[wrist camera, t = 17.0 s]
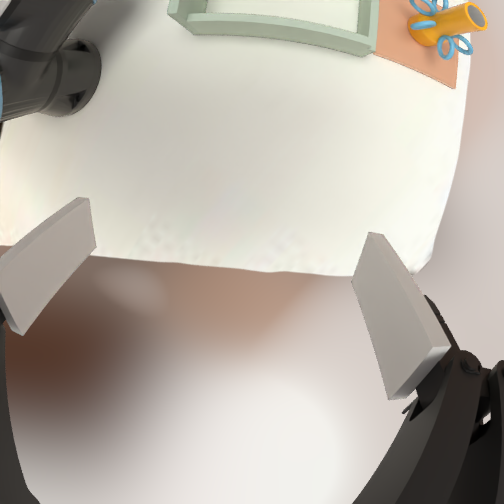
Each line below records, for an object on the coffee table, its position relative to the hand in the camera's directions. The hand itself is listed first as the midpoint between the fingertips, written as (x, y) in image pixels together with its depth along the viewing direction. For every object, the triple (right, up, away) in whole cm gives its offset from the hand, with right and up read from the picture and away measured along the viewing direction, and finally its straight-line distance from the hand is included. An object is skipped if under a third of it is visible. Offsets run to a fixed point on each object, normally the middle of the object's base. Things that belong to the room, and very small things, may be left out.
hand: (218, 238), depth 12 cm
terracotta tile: (+29, +35, +14) cm, 48 cm away
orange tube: (+29, +35, +13) cm, 47 cm away
